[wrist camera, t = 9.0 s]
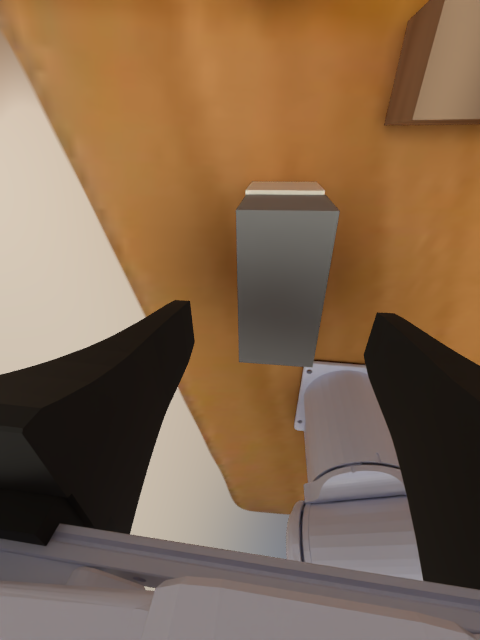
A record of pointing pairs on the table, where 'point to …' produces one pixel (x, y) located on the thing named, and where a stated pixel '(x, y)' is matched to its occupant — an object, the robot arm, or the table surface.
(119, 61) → the table surface
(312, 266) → the charcoal brick
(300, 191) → the off-white brick
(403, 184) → the table surface
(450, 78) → the walnut brick
